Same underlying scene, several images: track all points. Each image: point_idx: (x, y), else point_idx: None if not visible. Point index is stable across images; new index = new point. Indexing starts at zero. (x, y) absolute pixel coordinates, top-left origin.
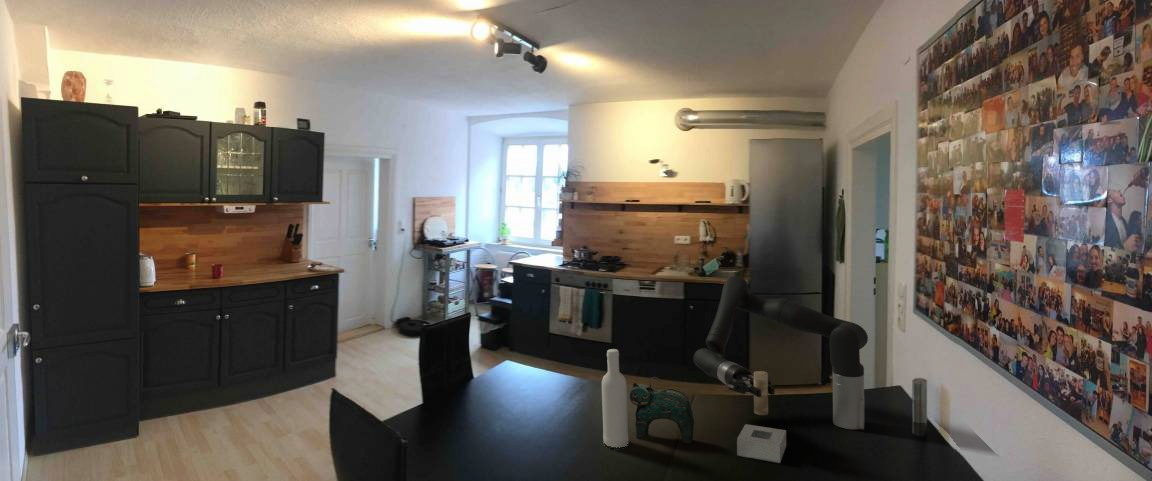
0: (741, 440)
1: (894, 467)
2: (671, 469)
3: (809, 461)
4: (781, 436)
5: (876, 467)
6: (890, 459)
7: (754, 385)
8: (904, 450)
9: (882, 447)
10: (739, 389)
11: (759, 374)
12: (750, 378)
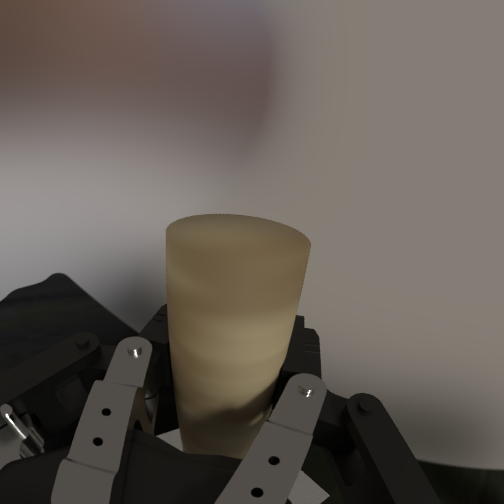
0: (317, 486)
1: (91, 309)
2: (480, 475)
3: (166, 398)
4: (172, 436)
5: (106, 322)
6: (65, 317)
7: (286, 350)
8: (25, 311)
9: (24, 331)
10: (349, 485)
11: (279, 228)
12: (121, 501)
